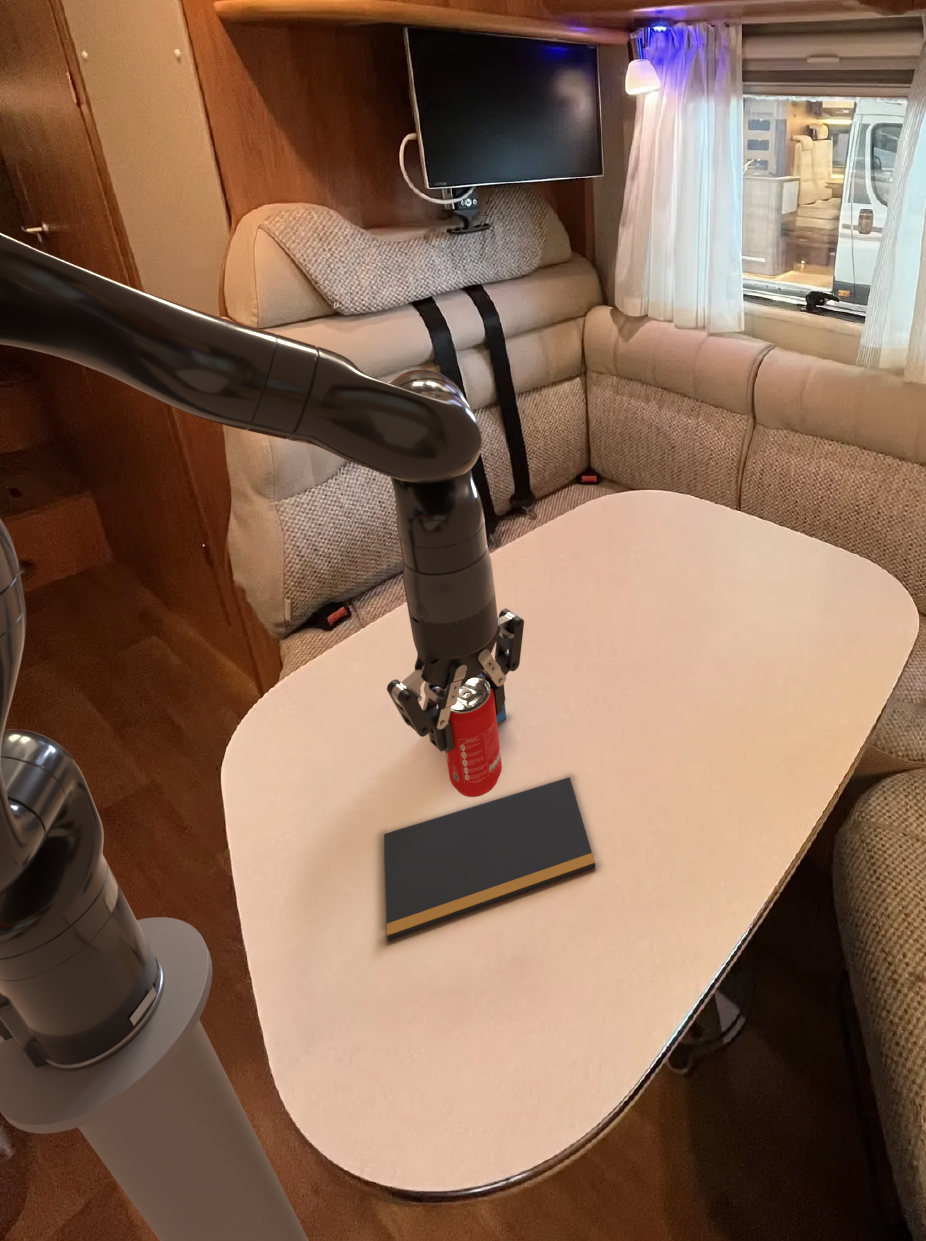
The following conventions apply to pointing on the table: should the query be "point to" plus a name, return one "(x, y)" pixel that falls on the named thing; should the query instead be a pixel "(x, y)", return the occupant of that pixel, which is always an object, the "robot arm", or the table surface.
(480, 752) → the beverage can
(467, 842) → the front mat
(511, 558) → the table surface
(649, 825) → the table surface
